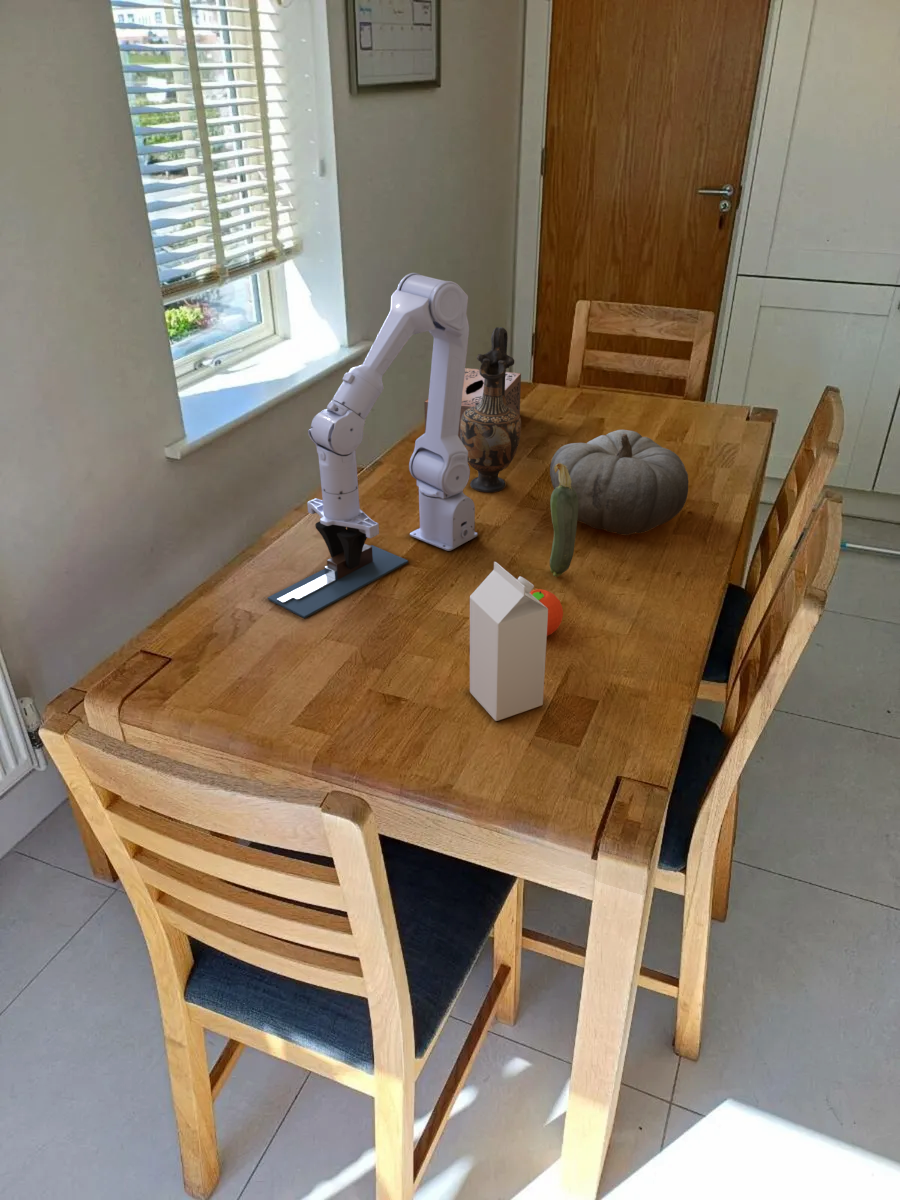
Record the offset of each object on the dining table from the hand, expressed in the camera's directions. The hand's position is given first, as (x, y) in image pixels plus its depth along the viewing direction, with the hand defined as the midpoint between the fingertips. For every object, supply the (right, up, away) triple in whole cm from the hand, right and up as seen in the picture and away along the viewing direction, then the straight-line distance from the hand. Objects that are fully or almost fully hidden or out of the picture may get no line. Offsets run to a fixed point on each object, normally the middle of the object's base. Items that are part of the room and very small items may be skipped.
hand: (346, 563), depth 144 cm
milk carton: (+24, -19, -29) cm, 42 cm away
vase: (+25, +17, +31) cm, 43 cm away
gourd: (+47, +9, +18) cm, 51 cm away
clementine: (+30, -11, -16) cm, 35 cm away
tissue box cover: (+23, +33, +57) cm, 70 cm away
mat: (-1, -3, -1) cm, 3 cm away
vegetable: (+35, -3, -1) cm, 35 cm away
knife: (-3, -3, -2) cm, 5 cm away
